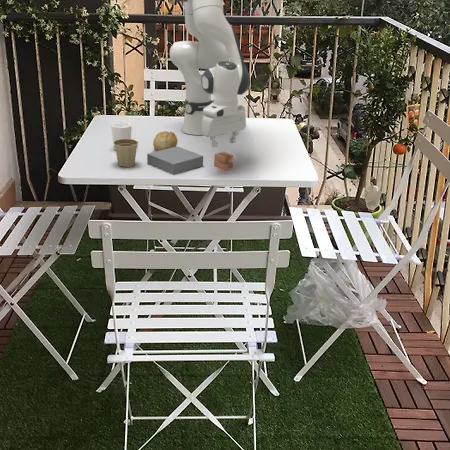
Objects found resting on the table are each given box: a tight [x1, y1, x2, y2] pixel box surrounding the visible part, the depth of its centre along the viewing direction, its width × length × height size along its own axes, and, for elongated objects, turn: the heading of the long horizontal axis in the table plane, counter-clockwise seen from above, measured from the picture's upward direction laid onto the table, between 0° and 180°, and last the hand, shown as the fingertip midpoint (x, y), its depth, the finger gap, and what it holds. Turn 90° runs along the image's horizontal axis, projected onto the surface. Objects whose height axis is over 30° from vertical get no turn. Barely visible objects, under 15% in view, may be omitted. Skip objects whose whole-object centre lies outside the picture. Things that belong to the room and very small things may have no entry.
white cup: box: [111, 121, 132, 151], centre depth 236 cm, size 8×8×10 cm
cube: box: [213, 151, 234, 171], centre depth 223 cm, size 5×5×5 cm
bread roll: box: [152, 131, 178, 152], centre depth 237 cm, size 10×15×8 cm, turn 3°
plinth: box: [146, 145, 204, 175], centre depth 223 cm, size 15×15×4 cm
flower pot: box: [112, 138, 139, 168], centre depth 220 cm, size 9×9×9 cm
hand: (223, 144), depth 220 cm, fingers open, 8 cm apart
